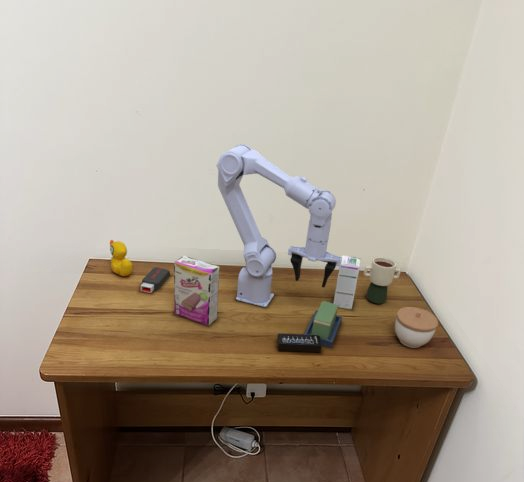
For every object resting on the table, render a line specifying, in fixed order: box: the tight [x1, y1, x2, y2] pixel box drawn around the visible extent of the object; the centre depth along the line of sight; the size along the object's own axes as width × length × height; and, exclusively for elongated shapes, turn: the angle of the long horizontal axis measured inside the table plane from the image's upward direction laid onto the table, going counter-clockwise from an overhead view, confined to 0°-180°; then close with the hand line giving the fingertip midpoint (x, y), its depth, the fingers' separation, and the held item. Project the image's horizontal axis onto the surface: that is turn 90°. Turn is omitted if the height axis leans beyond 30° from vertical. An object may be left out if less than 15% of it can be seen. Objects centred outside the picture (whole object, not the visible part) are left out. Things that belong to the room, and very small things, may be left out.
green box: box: [311, 300, 339, 339], centre depth 132 cm, size 10×4×6 cm, turn 161°
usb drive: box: [139, 266, 171, 294], centre depth 147 cm, size 5×12×3 cm, turn 167°
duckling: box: [109, 239, 134, 277], centre depth 149 cm, size 11×5×10 cm, turn 39°
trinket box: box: [394, 306, 439, 349], centre depth 131 cm, size 11×11×9 cm
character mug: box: [362, 256, 402, 304], centre depth 147 cm, size 11×7×13 cm, turn 90°
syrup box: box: [332, 255, 361, 310], centre depth 143 cm, size 6×6×14 cm
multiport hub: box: [276, 333, 323, 353], centre depth 126 cm, size 4×11×2 cm, turn 92°
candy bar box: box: [173, 255, 220, 327], centre depth 130 cm, size 11×5×16 cm, turn 65°
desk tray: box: [303, 309, 343, 349], centre depth 133 cm, size 8×13×2 cm, turn 161°
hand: (310, 282), depth 137 cm, fingers open, 7 cm apart
